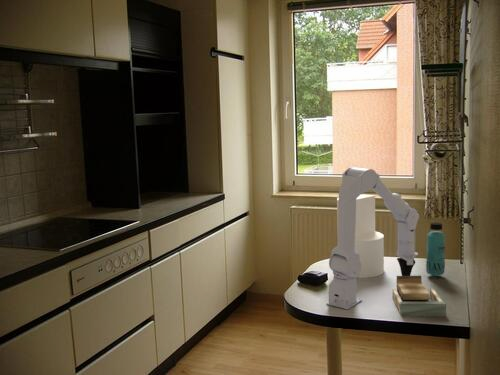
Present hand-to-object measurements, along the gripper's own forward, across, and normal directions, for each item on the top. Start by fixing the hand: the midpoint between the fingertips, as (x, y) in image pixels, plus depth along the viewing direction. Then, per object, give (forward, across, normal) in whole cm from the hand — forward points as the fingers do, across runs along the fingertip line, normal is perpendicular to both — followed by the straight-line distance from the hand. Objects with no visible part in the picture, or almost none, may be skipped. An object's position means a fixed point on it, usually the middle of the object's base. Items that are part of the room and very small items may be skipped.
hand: (405, 279), depth 186 cm
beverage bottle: (+3, +9, -12) cm, 16 cm away
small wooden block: (+2, -11, 0) cm, 11 cm away
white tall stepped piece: (+3, +18, +14) cm, 23 cm away
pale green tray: (+2, -19, 0) cm, 19 cm away
